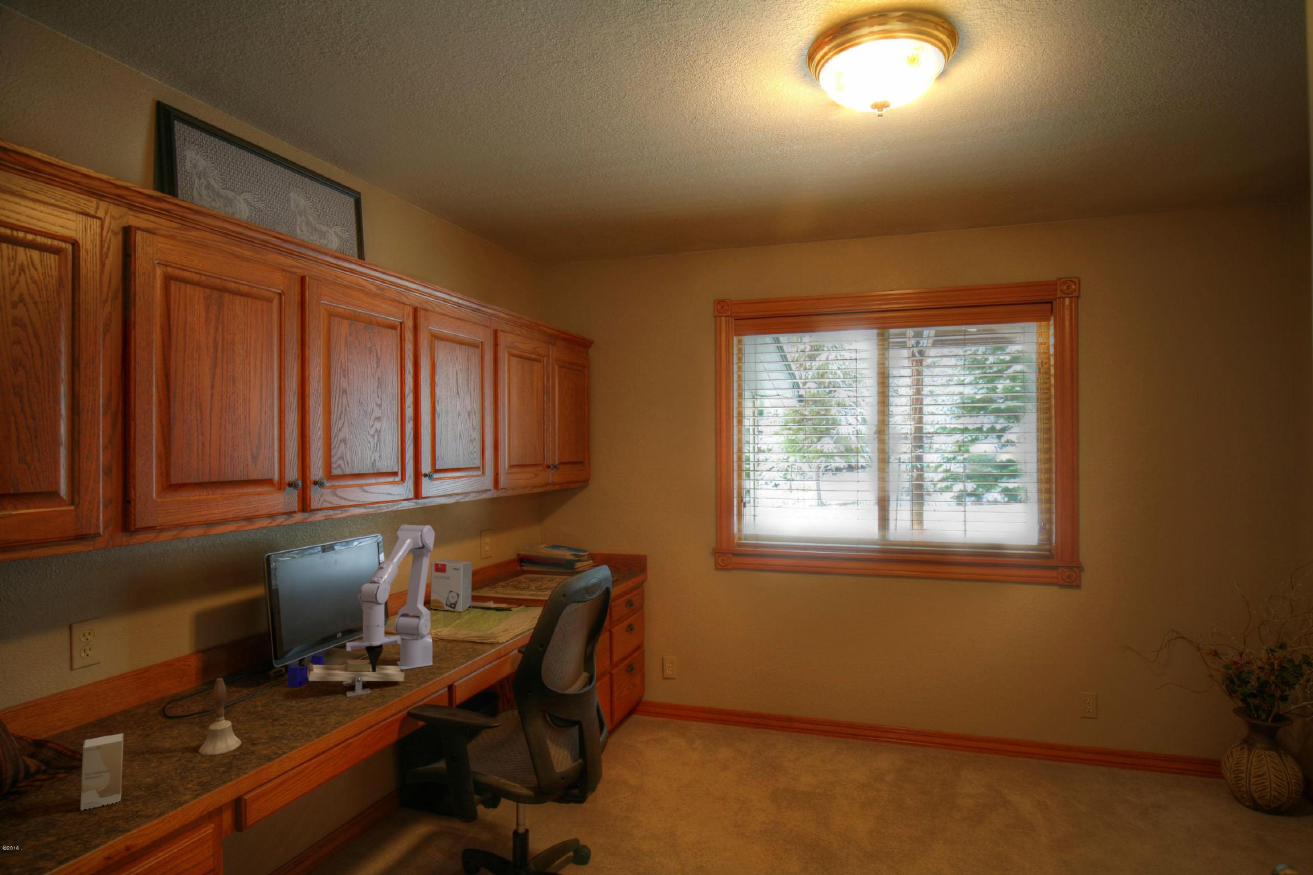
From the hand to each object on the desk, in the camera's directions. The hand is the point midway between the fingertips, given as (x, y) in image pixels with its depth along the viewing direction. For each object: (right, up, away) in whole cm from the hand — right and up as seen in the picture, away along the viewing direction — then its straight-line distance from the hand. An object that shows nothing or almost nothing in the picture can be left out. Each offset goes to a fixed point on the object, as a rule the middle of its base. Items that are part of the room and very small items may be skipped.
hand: (373, 671), depth 200 cm
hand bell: (-19, -4, -40) cm, 45 cm away
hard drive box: (-4, -5, +90) cm, 90 cm away
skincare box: (-27, -4, -64) cm, 70 cm away
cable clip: (-22, -4, +4) cm, 23 cm away
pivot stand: (-4, -4, -2) cm, 6 cm away
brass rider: (-4, 0, -2) cm, 4 cm away
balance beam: (-4, 0, -2) cm, 5 cm away
